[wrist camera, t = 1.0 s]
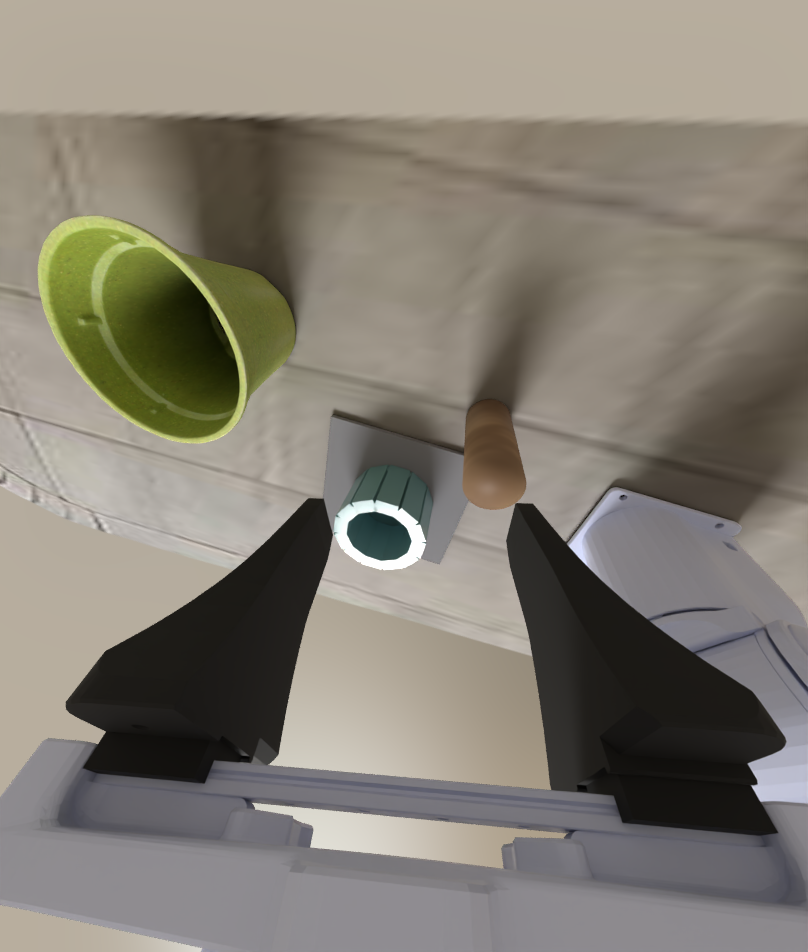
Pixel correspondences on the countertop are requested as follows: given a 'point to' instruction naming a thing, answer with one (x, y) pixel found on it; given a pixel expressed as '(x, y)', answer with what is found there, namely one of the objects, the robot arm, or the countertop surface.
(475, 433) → the walnut peg
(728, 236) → the countertop surface
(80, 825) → the robot arm
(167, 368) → the plant pot
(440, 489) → the grey mat
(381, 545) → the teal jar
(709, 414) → the countertop surface
